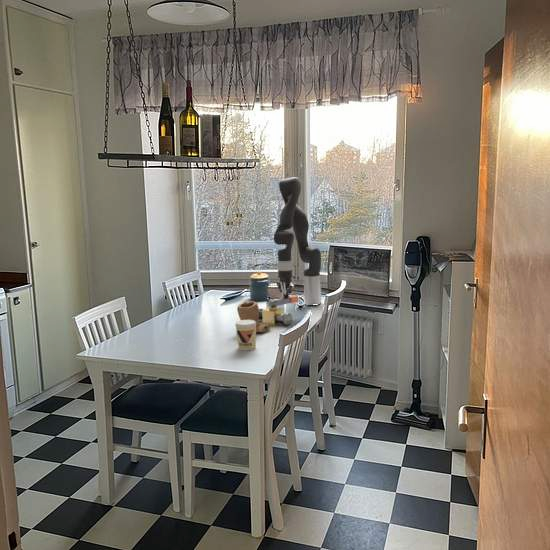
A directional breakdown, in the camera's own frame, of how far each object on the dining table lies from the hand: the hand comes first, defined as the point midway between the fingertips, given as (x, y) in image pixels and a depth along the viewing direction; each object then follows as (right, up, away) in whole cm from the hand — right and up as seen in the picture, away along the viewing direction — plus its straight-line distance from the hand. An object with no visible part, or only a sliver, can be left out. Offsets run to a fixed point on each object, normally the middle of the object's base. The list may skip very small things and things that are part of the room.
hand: (286, 300), depth 307 cm
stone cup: (-17, -15, -22) cm, 31 cm away
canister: (-15, -1, +47) cm, 49 cm away
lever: (-2, -1, -5) cm, 6 cm away
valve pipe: (-7, -11, -7) cm, 15 cm away
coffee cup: (-19, -19, -47) cm, 54 cm away
